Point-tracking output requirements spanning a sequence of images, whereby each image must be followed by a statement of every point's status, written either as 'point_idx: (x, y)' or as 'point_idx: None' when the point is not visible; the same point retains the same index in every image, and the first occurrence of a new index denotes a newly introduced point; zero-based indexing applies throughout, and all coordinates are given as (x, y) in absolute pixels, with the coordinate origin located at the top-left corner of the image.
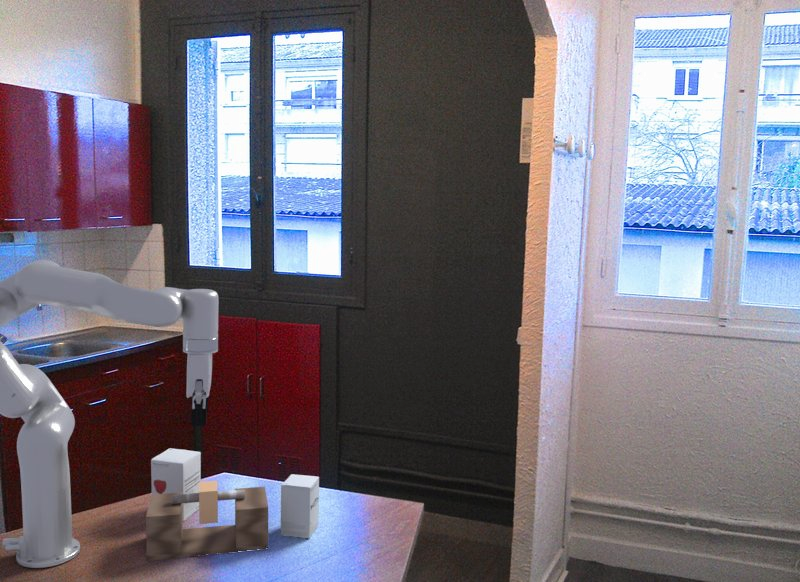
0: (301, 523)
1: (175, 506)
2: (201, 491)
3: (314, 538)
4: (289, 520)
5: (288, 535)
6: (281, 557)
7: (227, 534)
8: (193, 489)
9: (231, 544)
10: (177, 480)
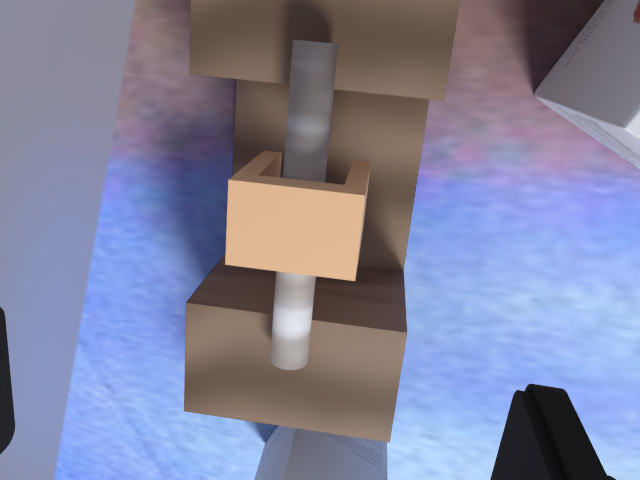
0: (265, 458)
1: (281, 58)
2: (234, 192)
3: None
4: (284, 434)
5: None
6: (175, 353)
7: None
8: (631, 157)
9: None
10: (607, 84)
